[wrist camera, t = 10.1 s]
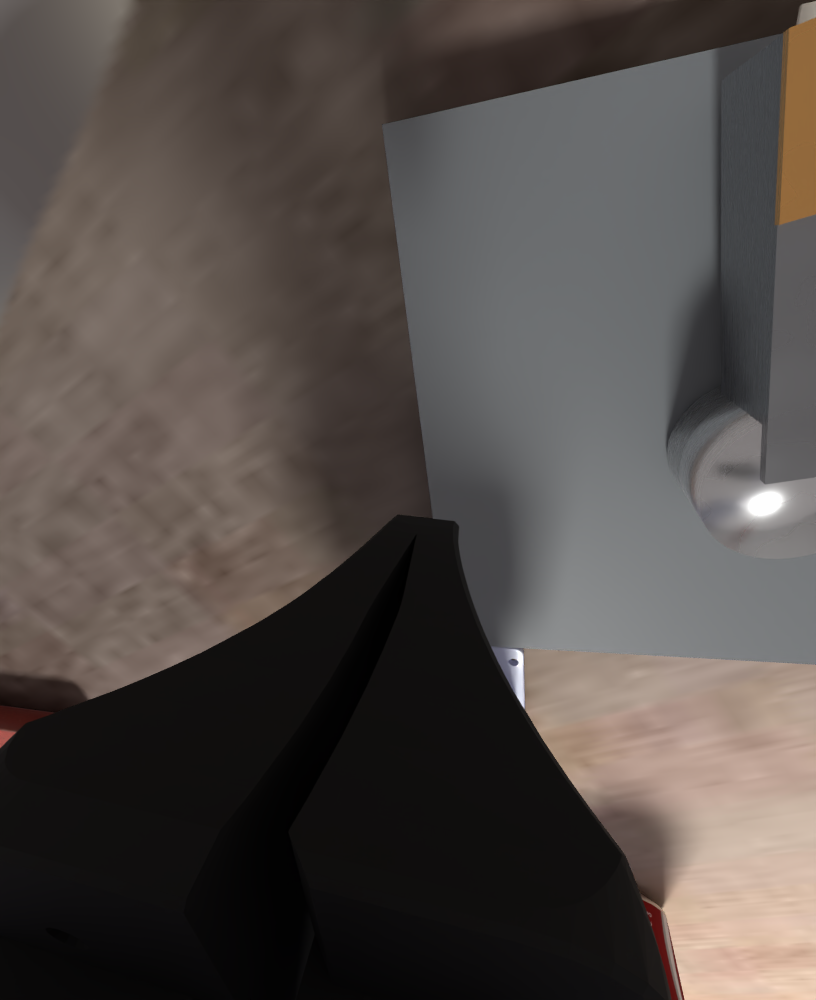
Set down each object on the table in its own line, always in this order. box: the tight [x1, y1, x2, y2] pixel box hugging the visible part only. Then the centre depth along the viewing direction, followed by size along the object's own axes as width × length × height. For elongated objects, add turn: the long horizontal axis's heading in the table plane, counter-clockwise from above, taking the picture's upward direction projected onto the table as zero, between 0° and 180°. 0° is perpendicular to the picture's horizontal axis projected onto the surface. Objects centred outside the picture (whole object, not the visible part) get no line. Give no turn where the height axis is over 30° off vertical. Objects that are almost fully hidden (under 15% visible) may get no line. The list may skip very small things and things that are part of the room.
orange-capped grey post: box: [667, 17, 816, 559], centre depth 12 cm, size 4×12×4 cm, turn 17°
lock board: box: [382, 1, 816, 665], centre depth 15 cm, size 20×21×2 cm
